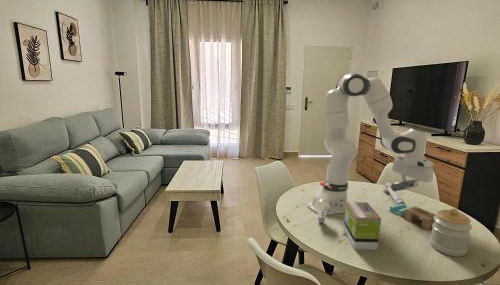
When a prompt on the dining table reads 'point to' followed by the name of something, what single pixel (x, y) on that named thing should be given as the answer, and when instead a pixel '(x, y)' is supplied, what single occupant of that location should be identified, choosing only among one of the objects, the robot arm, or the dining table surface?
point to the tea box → (362, 225)
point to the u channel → (398, 209)
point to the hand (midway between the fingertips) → (409, 184)
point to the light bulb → (322, 209)
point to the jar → (451, 232)
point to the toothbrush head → (392, 194)
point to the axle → (402, 185)
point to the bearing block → (416, 213)
